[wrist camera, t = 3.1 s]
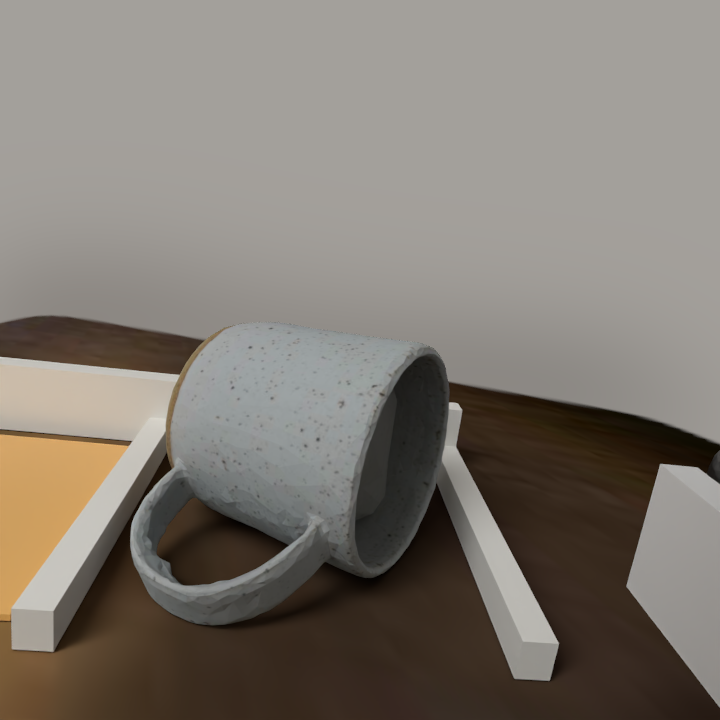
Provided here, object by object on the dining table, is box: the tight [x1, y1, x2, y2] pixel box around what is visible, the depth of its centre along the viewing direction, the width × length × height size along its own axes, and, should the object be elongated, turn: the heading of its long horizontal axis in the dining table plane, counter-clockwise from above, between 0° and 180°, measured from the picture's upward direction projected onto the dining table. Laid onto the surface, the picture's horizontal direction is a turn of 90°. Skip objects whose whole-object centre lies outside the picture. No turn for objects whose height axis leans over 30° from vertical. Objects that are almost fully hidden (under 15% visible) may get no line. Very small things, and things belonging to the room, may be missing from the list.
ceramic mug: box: [130, 322, 449, 626], centre depth 21 cm, size 11×8×8 cm
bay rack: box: [0, 357, 559, 681], centre depth 22 cm, size 27×14×3 cm, turn 94°
